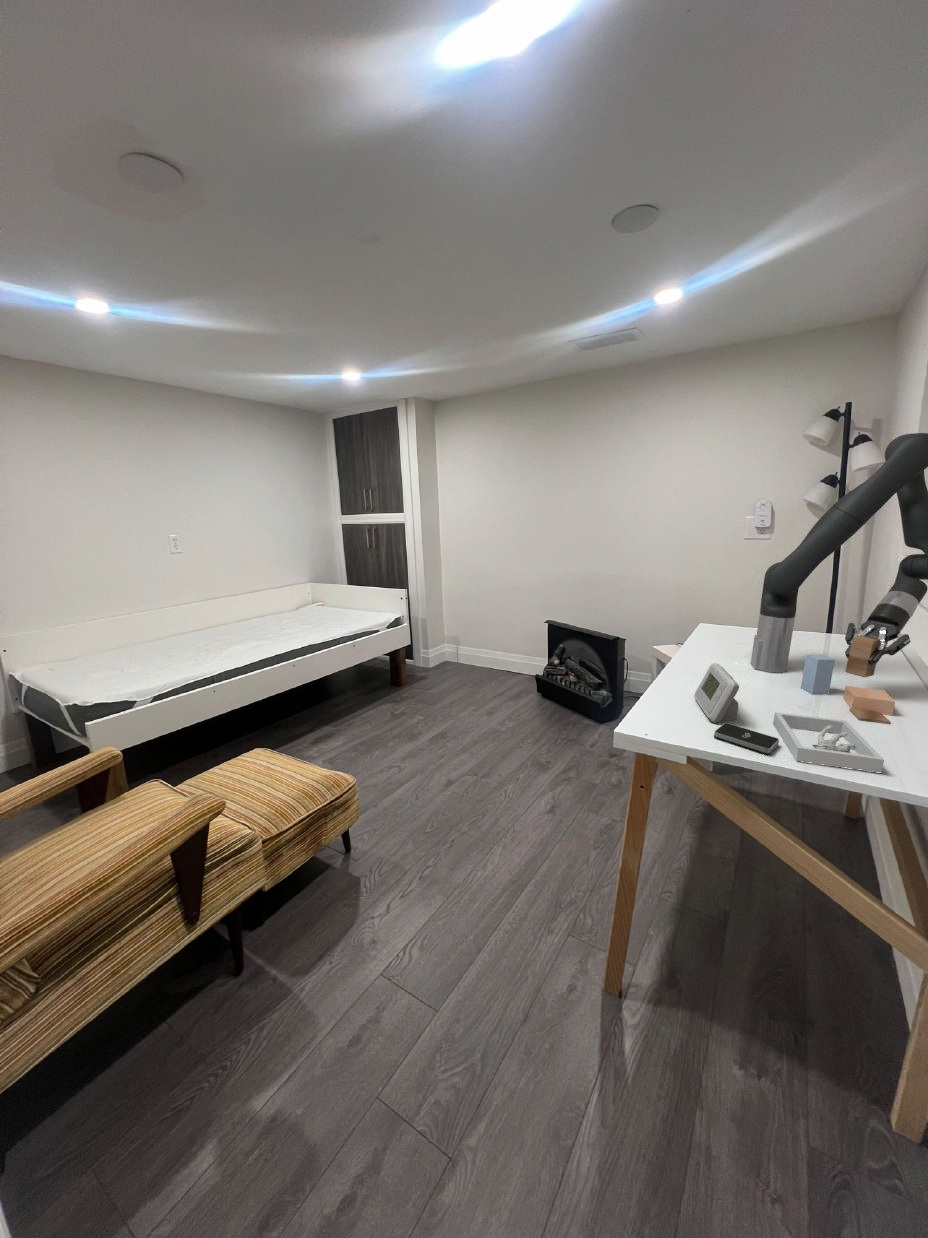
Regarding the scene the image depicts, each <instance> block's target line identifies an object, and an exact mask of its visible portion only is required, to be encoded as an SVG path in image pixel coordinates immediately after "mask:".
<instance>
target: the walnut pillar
mask: <svg viewBox="0 0 928 1238" xmlns="http://www.w3.org/2000/svg"><path fill="white" fill-rule="evenodd" d="M880 640H881V639H879V638H875V637H870V636H863V635H859V636H858V635H855V636H854V637H853V640H852V645H851V649H850V654H849V658H847V663H846V666H845V667H846V668H845V671H844V672H845V673H848V674H850V675H854V676H858V677H861V678H869V677H872V676H874V675H875V671H876V666H877V663H876V664H873V665H870V664H869V662H868V659H869V658H870V656H871V655H872V654H873V652H874V651H875V649H876V650H877V647H878V645H879V643H880Z"/></svg>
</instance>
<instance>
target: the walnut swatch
mask: <svg viewBox="0 0 928 1238" xmlns="http://www.w3.org/2000/svg"><path fill="white" fill-rule="evenodd" d="M849 712H850V713H851V714H852V715H853V716H854V717H855V718H856V719H858V721H860V720H861V722H862V721H863V722H870V723H877V724H878V723H880V724H885V725H891V720H889V719H888V718H887V717H886V715H882V714H881V713H880V712H878V711H869V710H860V709H852V708H850V707H849Z"/></svg>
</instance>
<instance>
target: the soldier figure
mask: <svg viewBox="0 0 928 1238" xmlns="http://www.w3.org/2000/svg"><path fill="white" fill-rule="evenodd" d="M831 727H833V726H832V725H830V726H827V727H826V728H825V729H823V730H822V731H821V732H820V733H819V734H818V736H817V744H812V748H818V749H825V750H832V751H839V752H847V753H848V751H849V749H850V748H851V749H853V747H854V746H855V744H854V743H852V744H849V743H847V744H843V745H839V746H837V745H836V744H837V742H839V741H840V738H843V737H845V736H846V735H847V733H846V732H844V733H841V734H834V735H832V736H831V738H829V739H825V738H824V737H825V735H826V733H827V730H832V729H830V728H831Z"/></svg>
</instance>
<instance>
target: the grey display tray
mask: <svg viewBox="0 0 928 1238" xmlns="http://www.w3.org/2000/svg"><path fill="white" fill-rule="evenodd" d="M772 725H773V726H774V727H775V730H776V731H777V733H778V735H779V736H780V737H781V739H782V741H783V743H784V744H785V745H786V748H787V750H788V751H789V753H790V754H791V756H792V755H793V756H794V757H793V756H792V757H793V759H794V758H795V759H796V761H803V762H812V763H816V764H824V765H828V766H827V767H830V766H838V767H847V768H852V769H862V770H865V771H871V772H872V771H873V772H881V773H882V772H883V767H884V762H885V759H884V758H883V757H882V756H881V754H879V753H878V752H877V751H876V750H875V749H874V747H873V746H871V745H870V743H869V742H868V741H867V740H866V739H865V738H864V737H863V735H861V734H860V733H859V732H858V731H857V730H856V729H855V728H854V727H853V726H852V725H851V724H850V722H848V721H847V720H842V719H837V718H836V719H835V718H834V719H833V718H824V717H818V716H811V715H810V716H809V715H801V714H794V713H793V714H792V713H787V712H786V713H785V712H779V711H778V712H774V715H773V722H772ZM830 725H832V726H833V727H831V728H830V729H832V730H827V732H831V733H830V734H834V733H839V734H841V733H844V732H846V733H847V735H846V736H845V737H844V738H845V739H846V740H847V741H848V742H849V743H850V744H852V743H854V744H855V746H854V747H853V748H854V749H855V750H854V749H853V748H852V749H853V750H854V752H855V753H853V752H848V751H847V752H845V751H844V752H839V751H832V750H825V749H818V748H814V747H809V746H803V744H802V743H801V741H800V740H799V739H798V737H797V736H796V734H795V732H794V731H793V730H792V729H795V728H797V730H805V731H811V730H812V731H813V732H820V733H821V731H822V730H823V729H825V728H826V727H827V726H830ZM827 732H826V733H827ZM845 739H844V740H845ZM846 740H845V741H846ZM847 741H846V742H847ZM848 742H847V743H848ZM849 743H848V744H849ZM857 753H858V754H857ZM795 759H794V760H795ZM796 761H795V762H796ZM803 762H802V763H803ZM816 764H815V765H816ZM871 772H870V773H871Z"/></svg>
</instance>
